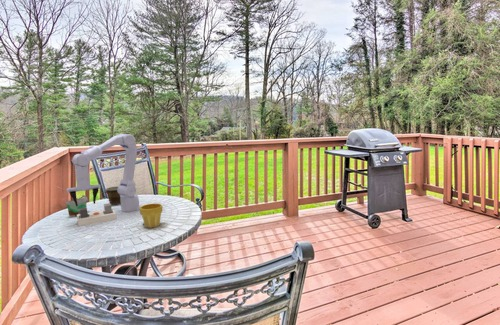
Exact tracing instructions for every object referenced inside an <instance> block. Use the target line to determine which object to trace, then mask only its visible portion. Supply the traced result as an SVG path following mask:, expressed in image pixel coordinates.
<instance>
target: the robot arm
mask: <svg viewBox="0 0 500 325" xmlns="http://www.w3.org/2000/svg"><path fill="white" fill-rule="evenodd" d="M136 142H137V139H136V137H135V136H134V135H133V134H131V133H127V134H126V133H118V134H116V135H113V136H112V137H110V138H108V140H106V141H105V142H103V143H101V144H100V145H98V146H97V145H90V146H89V147H88V148H87V149H85V150H84V151H83V150H82V151H80V153H76V154H75V155H74V156H73V157H72V159H71V163H72V164H73V165H74V171H75V172H74V173H75V181H76V186H73V187H69V188H66V194H69V196H70V197H71V198H72V200H74V202H75V204H76V206H78V204H77V199H76V198H77V192H85V191H91V190H92V200H93V201H92V202H93V205H95V204H96V200H97V195H98V193H99V190H101V184H91V180H90V170H89V164H90V163H91V162H92V161H94V160H96V159H97V158H98V157H100V156H102V154H103V152H104V151H107V149H111V148H112V147H115V146H116V145H118V146H120V147H122V148H123V149H124V150H125V152H126V153H125V162H124V167H123V168H124V169H123V174H122V175H123V176H122V179H121V180H120V181H119V185H118V186H117V187H118V188H117V192H118V193H119V194H120V200H121V204H120V207H121V208H120V209H121V212H122V213H131V212H134V211H140V199H139V196H138V195H137V194H136V193H137V189H136V182H135V181H134V176H135V170H136V161H137V156H138V155H137V154H138V146H137V143H136Z"/></svg>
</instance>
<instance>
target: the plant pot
mask: <svg viewBox="0 0 500 325" xmlns="http://www.w3.org/2000/svg"><path fill="white" fill-rule="evenodd" d="M139 209H140V210H139V213H140V216H142V220H143V222H144V226H145V227H146V228H157V227H158V226H160V222H161V218H162V216H161V215H162V213H163V204H162V203H156V202H155V203H148V204H147V203H146V204H144V205H141V206H139Z"/></svg>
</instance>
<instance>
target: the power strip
mask: <svg viewBox="0 0 500 325" xmlns="http://www.w3.org/2000/svg"><path fill="white" fill-rule="evenodd" d="M87 214H88V217H86V218H81V216H80V214H78V215H77V216H76V218H77V226H78V227H81V226H87V225H92V224H97V223H99V224H100V223H104V222H108V221H116V220H117V213H116V211H115V209H114V208H112V213H110V214H105V211H104V210H103V209H102V210H97V211H93V212H91V211H90V212H87Z"/></svg>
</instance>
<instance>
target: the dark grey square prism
mask: <svg viewBox="0 0 500 325" xmlns="http://www.w3.org/2000/svg"><path fill="white" fill-rule="evenodd" d="M87 213H88V208H87V207H84V208H80V216H81V218H86V217H88V214H87Z"/></svg>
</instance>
